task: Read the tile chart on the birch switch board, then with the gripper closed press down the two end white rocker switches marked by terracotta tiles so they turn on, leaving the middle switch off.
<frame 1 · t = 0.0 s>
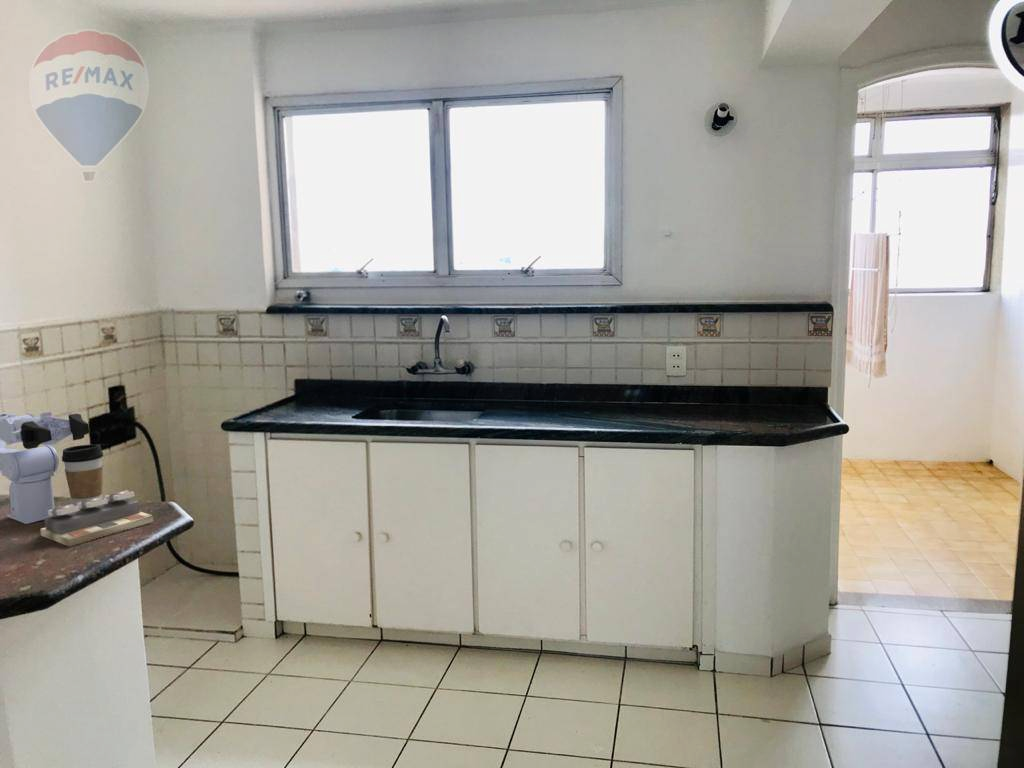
hand: (68, 431, 170), 22 cm above the countertop, tool horizontal, fingers open, 7 cm apart
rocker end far: (119, 496, 181), point 5 cm above the countertop, hinge at -10.0°
rocker middle: (92, 503, 176), point 5 cm above the countertop, hinge at -10.0°
coffee cup: (88, 511, 189), on the countertop
switch unit: (98, 528, 176), on the countertop
rocker end near: (63, 510, 171), point 5 cm above the countertop, hinge at -10.0°
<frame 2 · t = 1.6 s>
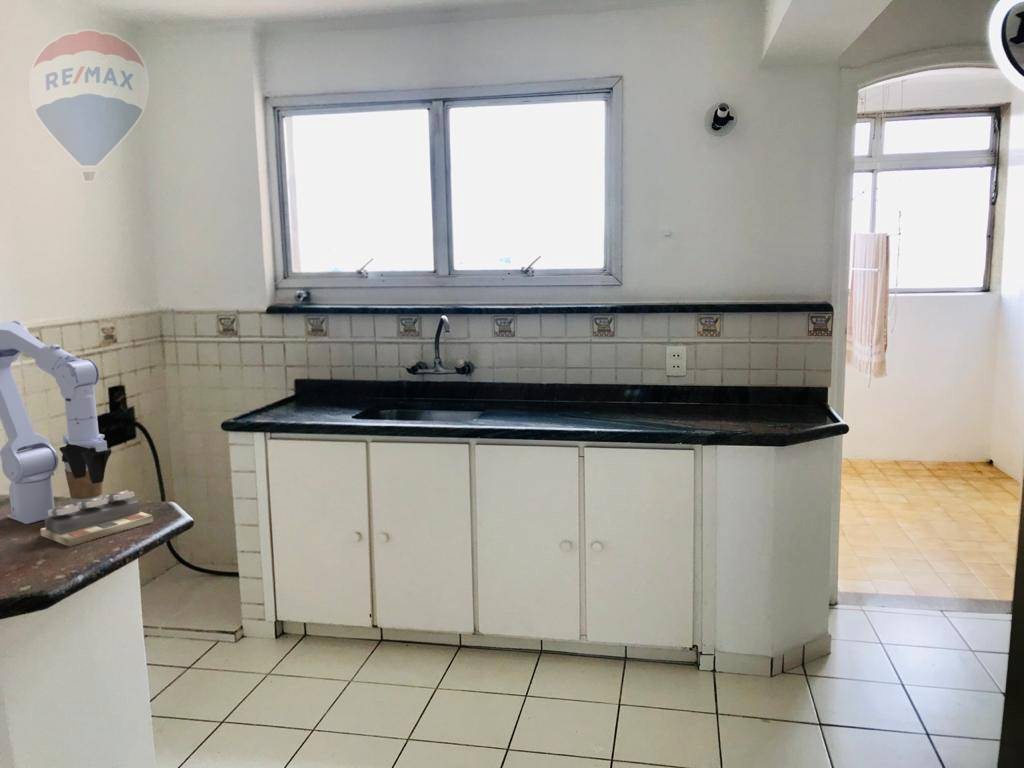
hand: (88, 480, 175), 10 cm above the countertop, tool pointing down, fingers open, 7 cm apart
nothing on the countertop moved.
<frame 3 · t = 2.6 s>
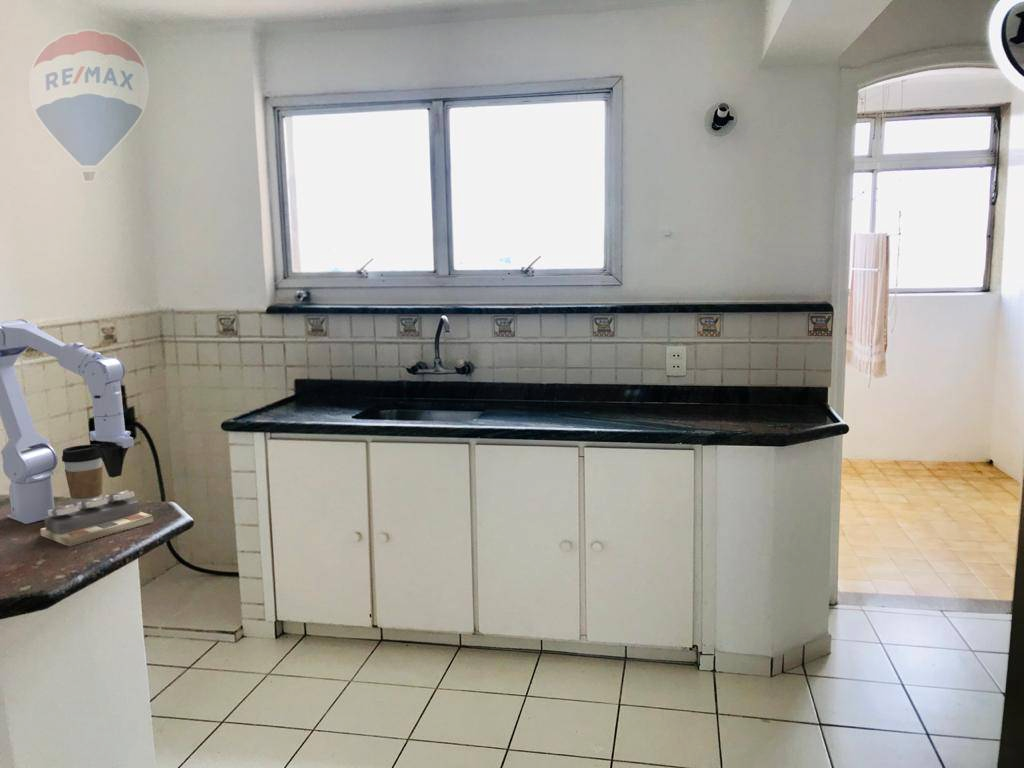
hand: (115, 476, 178), 11 cm above the countertop, tool pointing down, fingers closed
nothing on the countertop moved.
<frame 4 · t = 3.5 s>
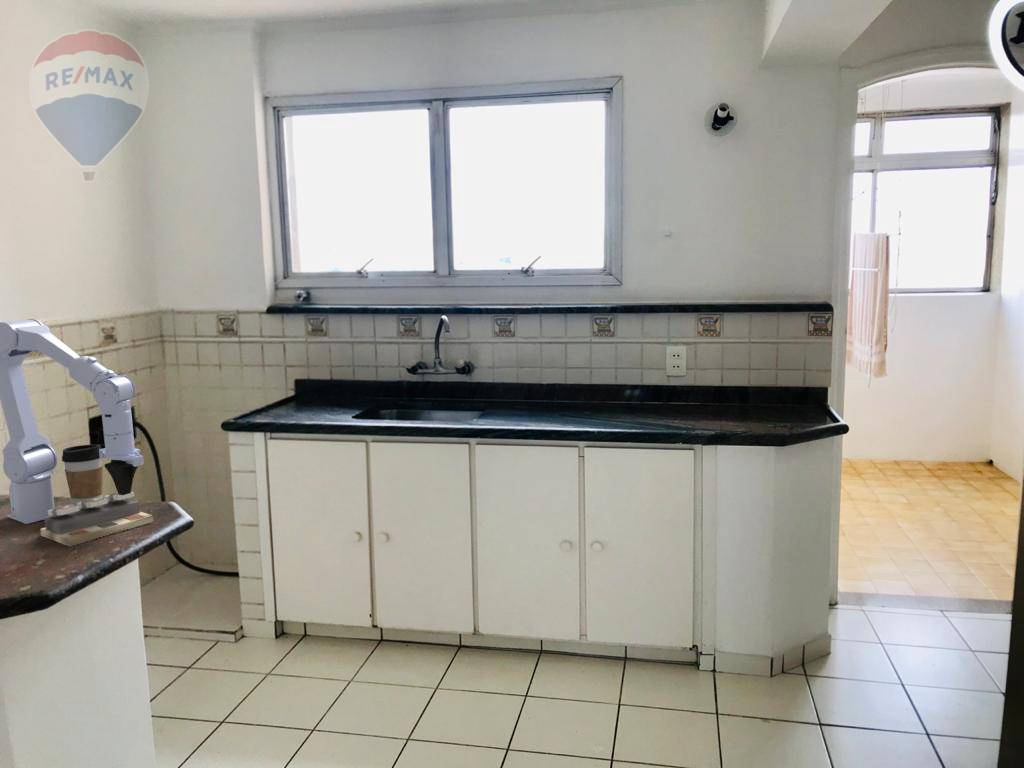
hand: (124, 493, 179), 6 cm above the countertop, tool pointing down, fingers closed, pressing on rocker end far
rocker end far: (119, 496, 181), point 5 cm above the countertop, hinge at -10.0°, touching gripper
everything else where it was.
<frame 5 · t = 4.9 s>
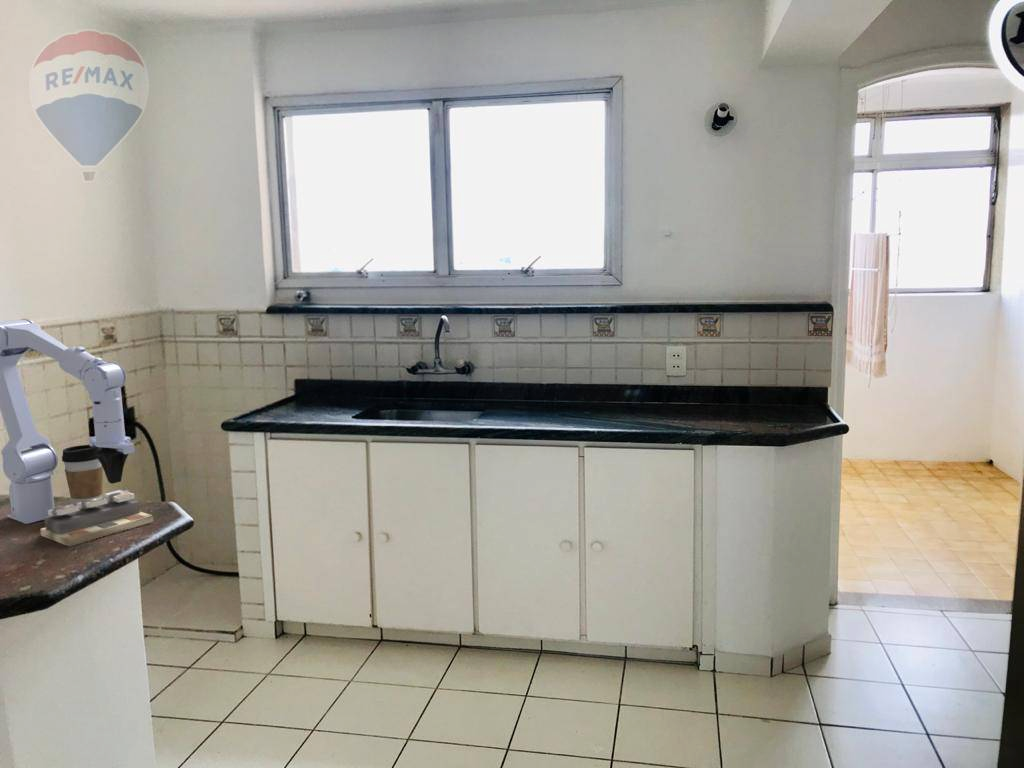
hand: (114, 482, 177), 9 cm above the countertop, tool pointing down, fingers closed
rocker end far: (119, 496, 181), point 5 cm above the countertop, hinge at -0.6°
everything else where it was.
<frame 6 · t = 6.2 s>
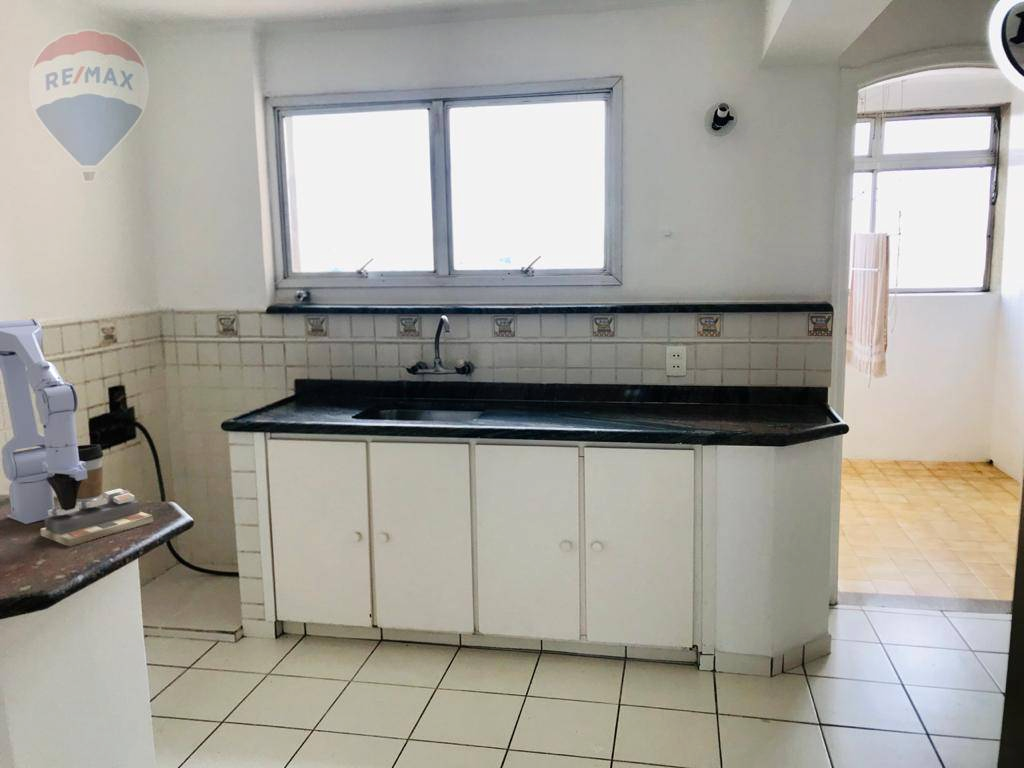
hand: (68, 509, 170), 6 cm above the countertop, tool pointing down, fingers closed, pressing on rocker end near
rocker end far: (119, 496, 181), point 5 cm above the countertop, hinge at 7.2°
rocker end near: (63, 510, 171), point 5 cm above the countertop, hinge at -10.0°, touching gripper
everything else where it was.
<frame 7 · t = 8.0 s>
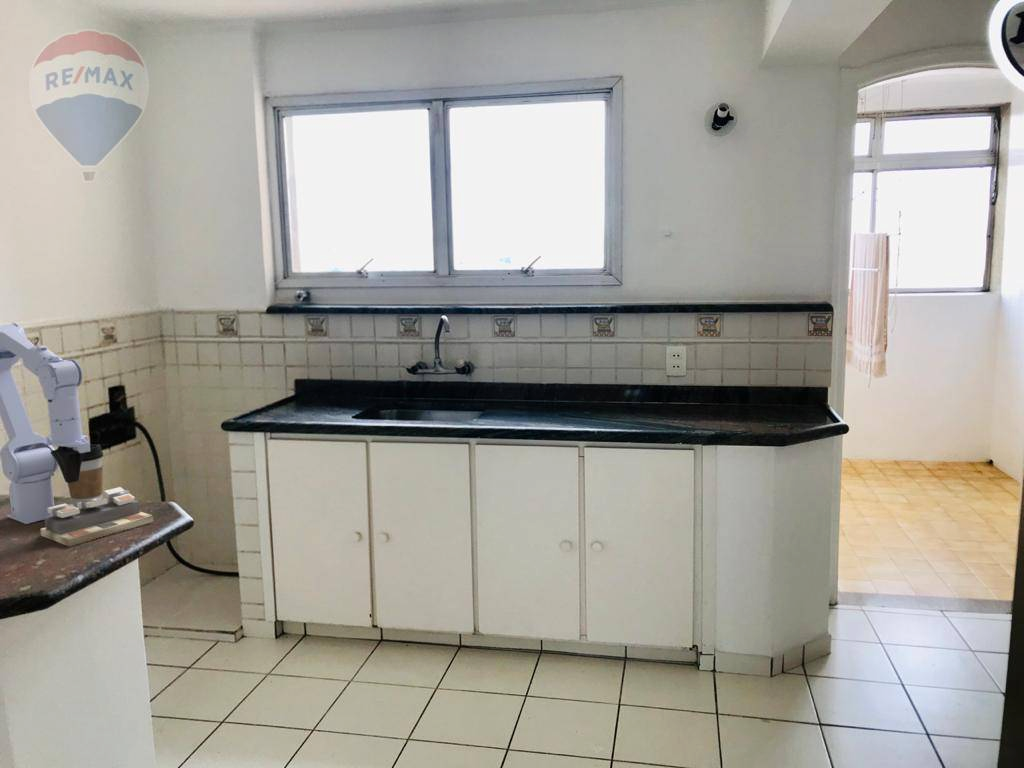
hand: (72, 481, 174), 10 cm above the countertop, tool pointing down, fingers closed
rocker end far: (119, 496, 181), point 5 cm above the countertop, hinge at 14.0°
rocker end near: (63, 510, 171), point 5 cm above the countertop, hinge at 1.1°
everything else where it was.
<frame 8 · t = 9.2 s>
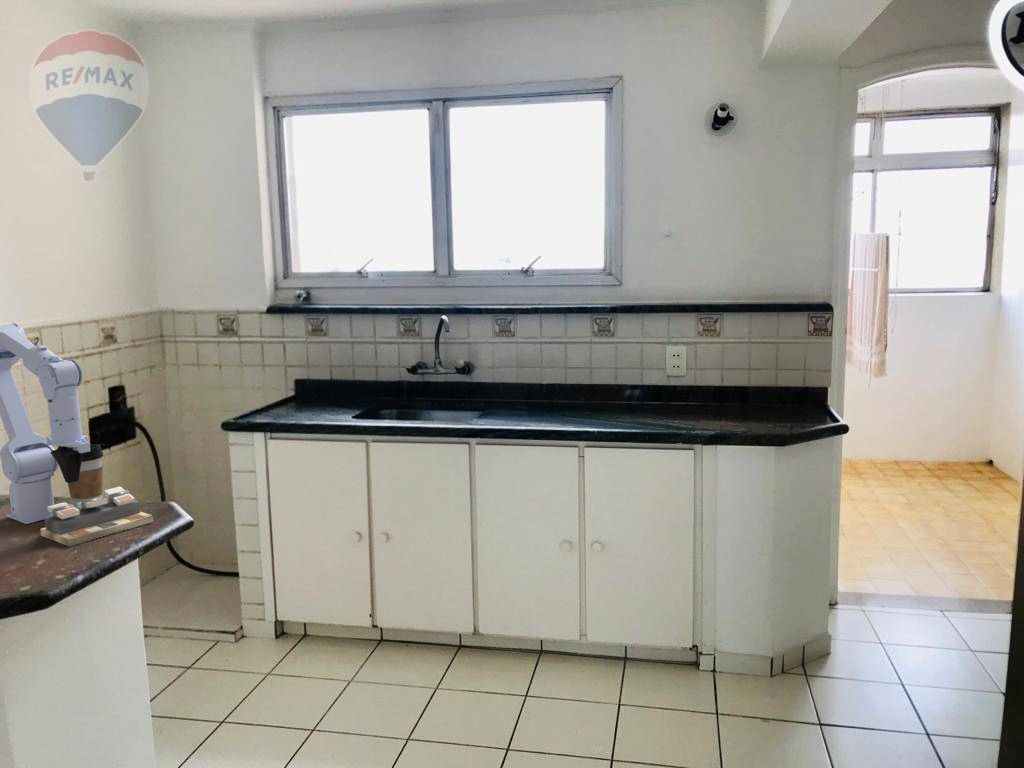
hand: (72, 481, 174), 10 cm above the countertop, tool pointing down, fingers closed
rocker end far: (119, 496, 181), point 5 cm above the countertop, hinge at 16.8°
rocker end near: (63, 510, 171), point 5 cm above the countertop, hinge at 6.8°
everything else where it was.
at the end: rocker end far at +17° (first picture: -10°); rocker end near at +7° (first picture: -10°); rocker middle at -10° (first picture: -10°) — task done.
